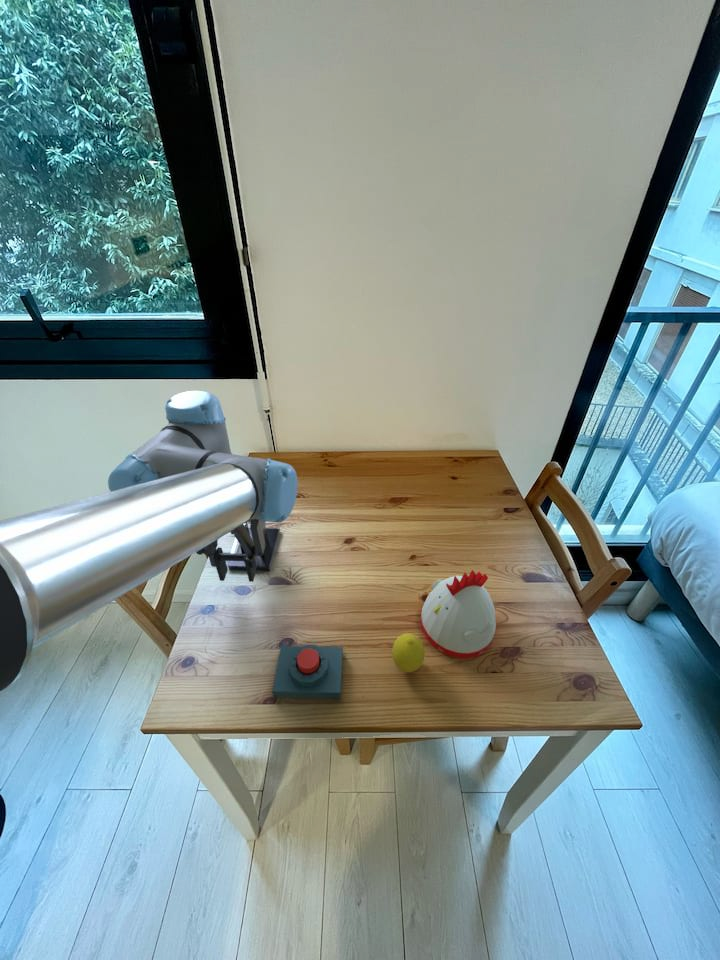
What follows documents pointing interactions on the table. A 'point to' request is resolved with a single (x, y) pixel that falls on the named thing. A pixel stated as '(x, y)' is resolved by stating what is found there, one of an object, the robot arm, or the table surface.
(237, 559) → the lever
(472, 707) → the table surface
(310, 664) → the button
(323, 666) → the button box
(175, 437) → the robot arm
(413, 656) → the lemon
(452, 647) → the kitchen timer
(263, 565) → the bracket
